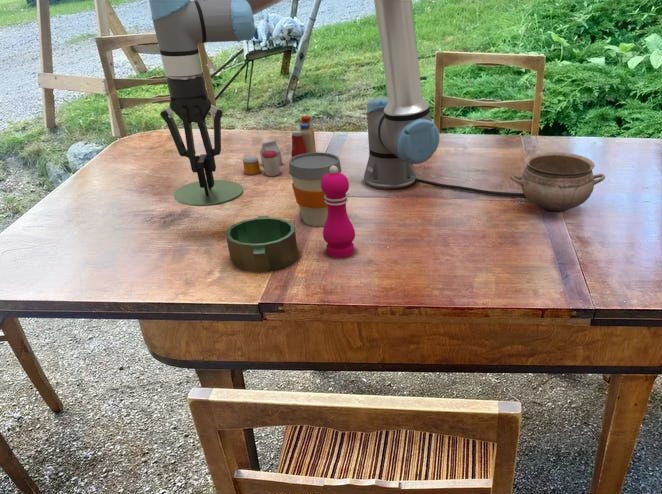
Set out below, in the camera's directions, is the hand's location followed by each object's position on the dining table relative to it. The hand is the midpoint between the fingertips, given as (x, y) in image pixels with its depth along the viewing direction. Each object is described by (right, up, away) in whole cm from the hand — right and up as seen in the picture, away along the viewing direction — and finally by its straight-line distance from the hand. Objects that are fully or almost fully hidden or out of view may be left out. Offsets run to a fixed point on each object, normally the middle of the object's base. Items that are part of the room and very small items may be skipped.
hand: (207, 185), depth 141 cm
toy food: (+7, +19, +47) cm, 51 cm away
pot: (+15, -18, -4) cm, 23 cm away
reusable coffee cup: (+24, -5, +14) cm, 28 cm away
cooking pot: (+85, 0, +22) cm, 88 cm away
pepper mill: (+31, -16, -1) cm, 35 cm away
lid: (0, -2, +1) cm, 2 cm away
